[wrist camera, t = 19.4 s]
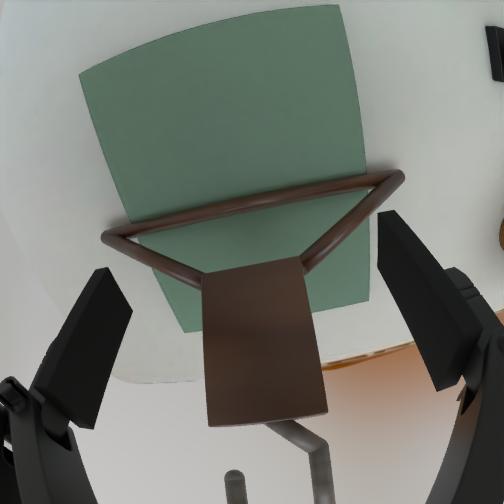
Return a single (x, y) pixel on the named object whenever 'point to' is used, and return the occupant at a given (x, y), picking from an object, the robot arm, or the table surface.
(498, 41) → the black and grey stand
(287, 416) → the hanger
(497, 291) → the table surface
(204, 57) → the mat
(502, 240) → the disposable coffee cup
